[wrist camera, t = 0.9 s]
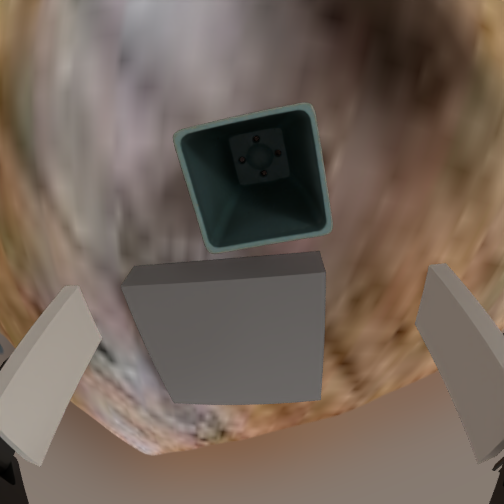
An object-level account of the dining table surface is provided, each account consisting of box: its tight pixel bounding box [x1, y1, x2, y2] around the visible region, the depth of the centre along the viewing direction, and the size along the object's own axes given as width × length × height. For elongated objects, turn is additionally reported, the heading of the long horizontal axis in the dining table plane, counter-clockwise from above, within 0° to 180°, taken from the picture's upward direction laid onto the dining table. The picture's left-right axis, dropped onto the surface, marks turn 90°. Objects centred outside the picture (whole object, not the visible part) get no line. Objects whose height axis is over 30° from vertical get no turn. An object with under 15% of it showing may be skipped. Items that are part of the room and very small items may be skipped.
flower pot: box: [173, 103, 333, 254], centre depth 23 cm, size 9×9×9 cm
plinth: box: [121, 251, 326, 405], centre depth 35 cm, size 20×20×4 cm
